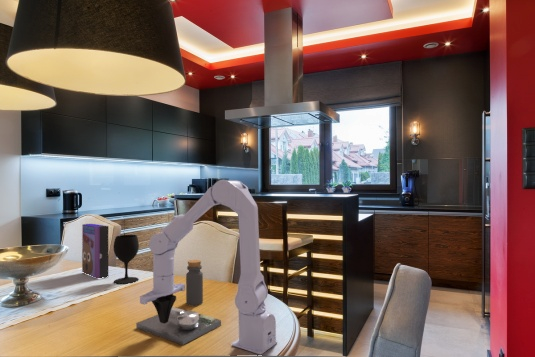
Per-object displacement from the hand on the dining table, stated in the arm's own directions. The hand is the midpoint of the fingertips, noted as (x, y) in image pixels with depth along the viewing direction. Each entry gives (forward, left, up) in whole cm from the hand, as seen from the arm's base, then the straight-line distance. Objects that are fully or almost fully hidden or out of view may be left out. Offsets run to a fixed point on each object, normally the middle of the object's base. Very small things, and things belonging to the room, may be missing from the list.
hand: (163, 322), depth 96 cm
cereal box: (+80, -24, -3) cm, 83 cm away
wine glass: (+58, -26, -3) cm, 63 cm away
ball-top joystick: (-2, -4, -1) cm, 5 cm away
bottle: (+11, -22, -3) cm, 25 cm away
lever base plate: (0, -5, -3) cm, 6 cm away
